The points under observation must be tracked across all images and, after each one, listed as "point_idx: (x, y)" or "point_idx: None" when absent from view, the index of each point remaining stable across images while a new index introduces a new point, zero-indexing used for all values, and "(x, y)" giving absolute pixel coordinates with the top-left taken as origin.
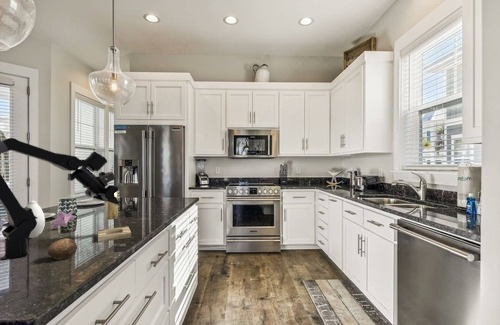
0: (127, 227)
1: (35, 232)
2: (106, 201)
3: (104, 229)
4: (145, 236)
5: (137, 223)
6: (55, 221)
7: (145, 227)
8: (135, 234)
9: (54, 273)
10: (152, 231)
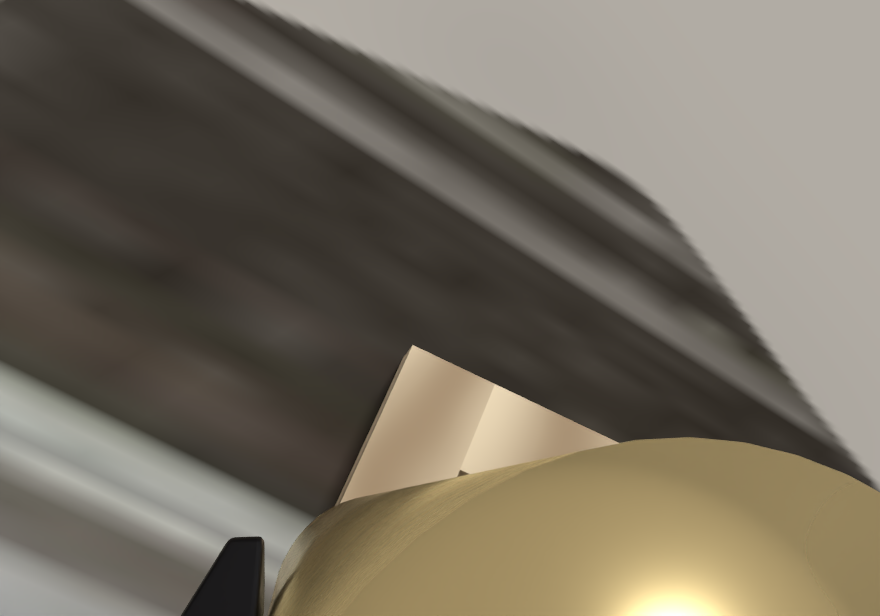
0: (458, 387)
1: None
2: None
3: None
4: (793, 382)
5: (111, 56)
6: None
7: (423, 141)
8: (634, 402)
9: None
10: (662, 215)
